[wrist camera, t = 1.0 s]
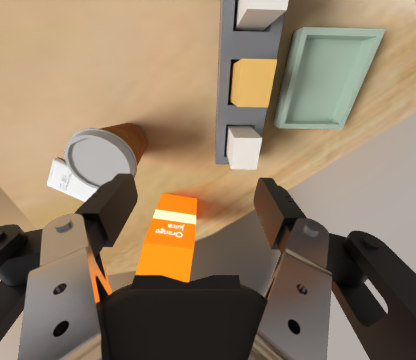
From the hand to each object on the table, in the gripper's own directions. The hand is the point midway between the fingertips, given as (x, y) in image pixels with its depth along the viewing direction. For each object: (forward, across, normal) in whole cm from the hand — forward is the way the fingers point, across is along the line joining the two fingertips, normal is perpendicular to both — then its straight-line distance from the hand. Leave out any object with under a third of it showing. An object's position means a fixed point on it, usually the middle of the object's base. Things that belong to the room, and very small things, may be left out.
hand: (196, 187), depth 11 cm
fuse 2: (+24, -7, +3) cm, 25 cm away
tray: (+24, -20, -6) cm, 31 cm away
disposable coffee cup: (+24, +14, +5) cm, 28 cm away
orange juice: (+24, +6, +23) cm, 33 cm away
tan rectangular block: (+24, -7, -6) cm, 25 cm away
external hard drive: (+24, +28, +16) cm, 40 cm away
